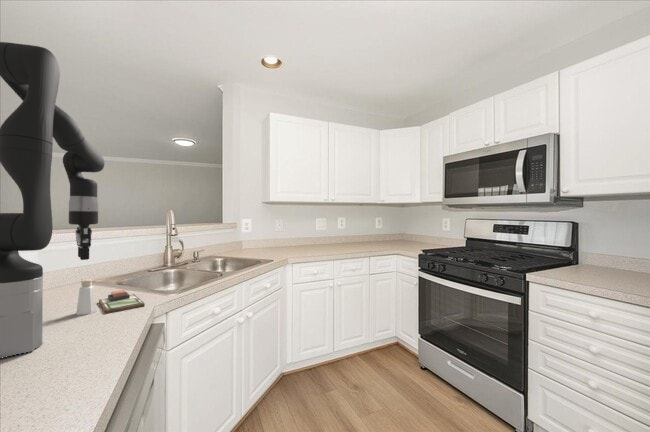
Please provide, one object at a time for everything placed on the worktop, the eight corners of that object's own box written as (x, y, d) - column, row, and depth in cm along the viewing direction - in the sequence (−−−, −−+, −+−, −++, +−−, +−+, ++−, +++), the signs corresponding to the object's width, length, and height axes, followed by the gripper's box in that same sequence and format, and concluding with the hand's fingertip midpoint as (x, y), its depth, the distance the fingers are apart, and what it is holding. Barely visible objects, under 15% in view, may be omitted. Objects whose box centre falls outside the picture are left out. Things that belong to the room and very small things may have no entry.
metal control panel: (144, 306, 101) (144, 299, 101) (106, 313, 93) (106, 306, 93) (133, 296, 112) (133, 290, 112) (99, 302, 105) (99, 295, 105)
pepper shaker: (72, 313, 92) (72, 280, 92) (91, 308, 97) (91, 277, 97) (81, 316, 90) (81, 282, 90) (100, 311, 95) (100, 278, 95)
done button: (126, 295, 106) (126, 291, 106) (113, 298, 103) (113, 293, 103) (124, 293, 109) (124, 289, 109) (111, 295, 106) (111, 291, 106)
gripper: (100, 210, 91) (100, 259, 91) (95, 210, 101) (95, 255, 101) (70, 209, 86) (69, 262, 86) (67, 210, 96) (67, 257, 96)
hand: (83, 258), depth 94 cm, fingers open, 8 cm apart
